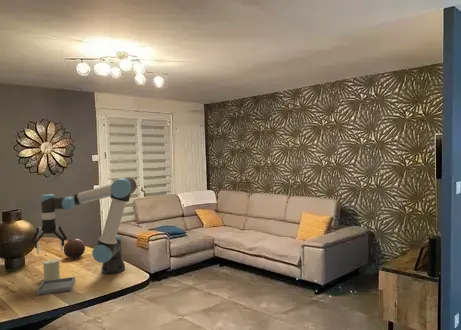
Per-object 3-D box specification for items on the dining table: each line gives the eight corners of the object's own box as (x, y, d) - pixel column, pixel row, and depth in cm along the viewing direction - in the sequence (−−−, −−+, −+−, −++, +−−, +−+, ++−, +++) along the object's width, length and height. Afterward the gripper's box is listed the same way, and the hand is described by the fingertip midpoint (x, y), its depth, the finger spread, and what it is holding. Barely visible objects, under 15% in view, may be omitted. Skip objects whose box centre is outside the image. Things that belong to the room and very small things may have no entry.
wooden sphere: (89, 256, 276) (88, 237, 275) (71, 262, 263) (70, 242, 263) (77, 254, 284) (76, 235, 283) (59, 259, 271) (58, 240, 271)
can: (43, 282, 221) (42, 263, 221) (43, 278, 229) (42, 260, 229) (60, 279, 225) (59, 261, 225) (59, 275, 234) (58, 257, 233)
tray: (75, 280, 223) (75, 276, 223) (70, 291, 205) (70, 286, 205) (43, 284, 218) (43, 280, 218) (36, 295, 200) (35, 291, 200)
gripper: (70, 216, 233) (72, 248, 234) (28, 219, 226) (29, 252, 227) (69, 218, 226) (70, 251, 226) (24, 221, 219) (26, 255, 220)
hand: (50, 252), depth 227 cm, fingers open, 13 cm apart
